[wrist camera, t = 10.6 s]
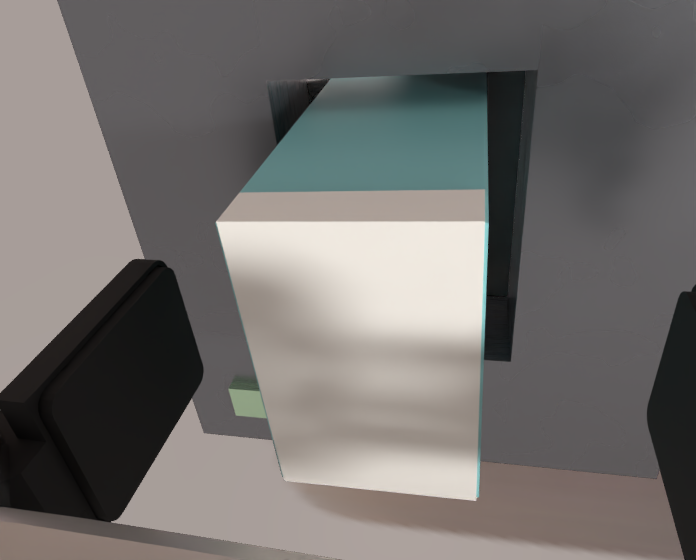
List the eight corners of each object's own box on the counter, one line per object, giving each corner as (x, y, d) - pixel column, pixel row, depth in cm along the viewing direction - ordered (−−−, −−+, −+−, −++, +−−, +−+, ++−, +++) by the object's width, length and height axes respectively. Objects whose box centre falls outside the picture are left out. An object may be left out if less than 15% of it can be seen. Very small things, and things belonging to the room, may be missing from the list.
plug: (486, 66, 14) (489, 221, 8) (480, 272, 17) (478, 501, 11) (330, 76, 15) (213, 221, 8) (353, 270, 18) (282, 480, 12)
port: (803, -225, 10) (916, -264, 8) (634, 403, 19) (658, 487, 16) (98, -131, 13) (0, -135, 11) (235, 373, 22) (200, 439, 19)
